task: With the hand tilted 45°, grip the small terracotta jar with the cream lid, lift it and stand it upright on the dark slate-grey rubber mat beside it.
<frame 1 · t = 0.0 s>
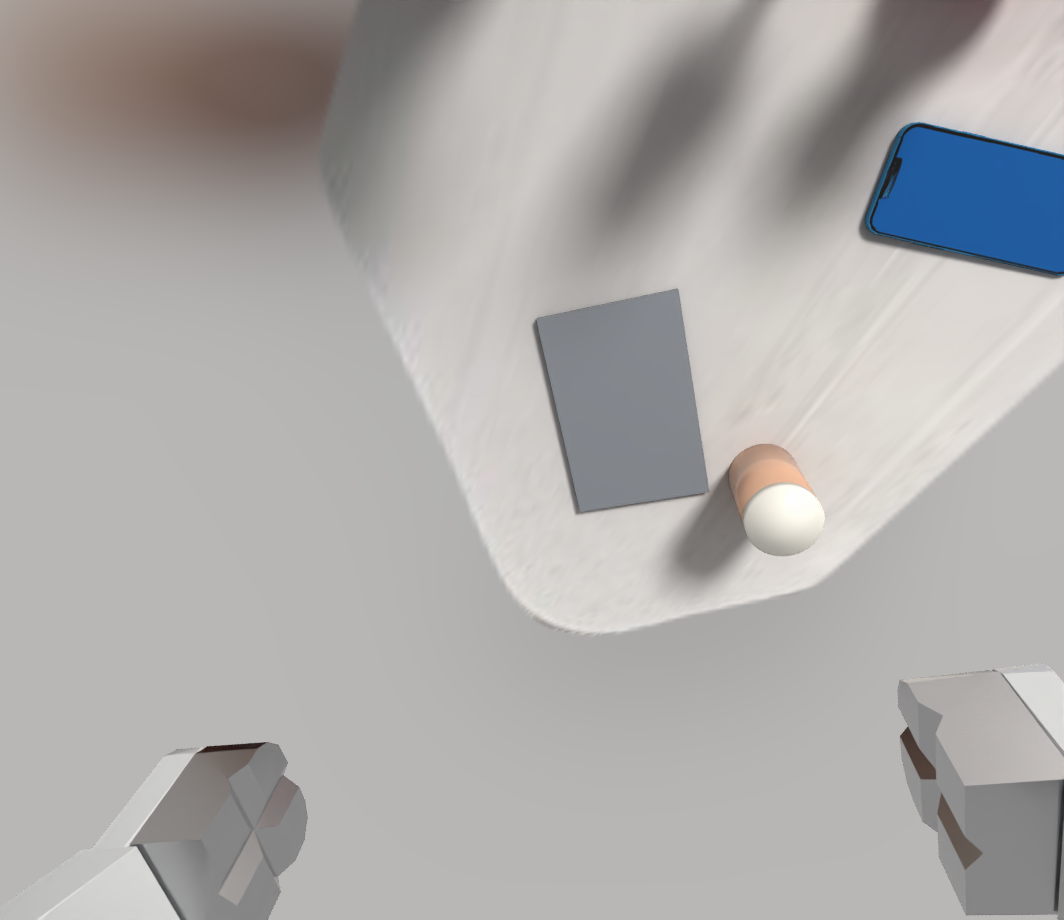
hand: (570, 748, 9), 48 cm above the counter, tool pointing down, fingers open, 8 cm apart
terracotta jar: (762, 474, 58), on the counter
slate mat: (625, 406, 57), on the counter
smartphone: (983, 200, 49), on the counter
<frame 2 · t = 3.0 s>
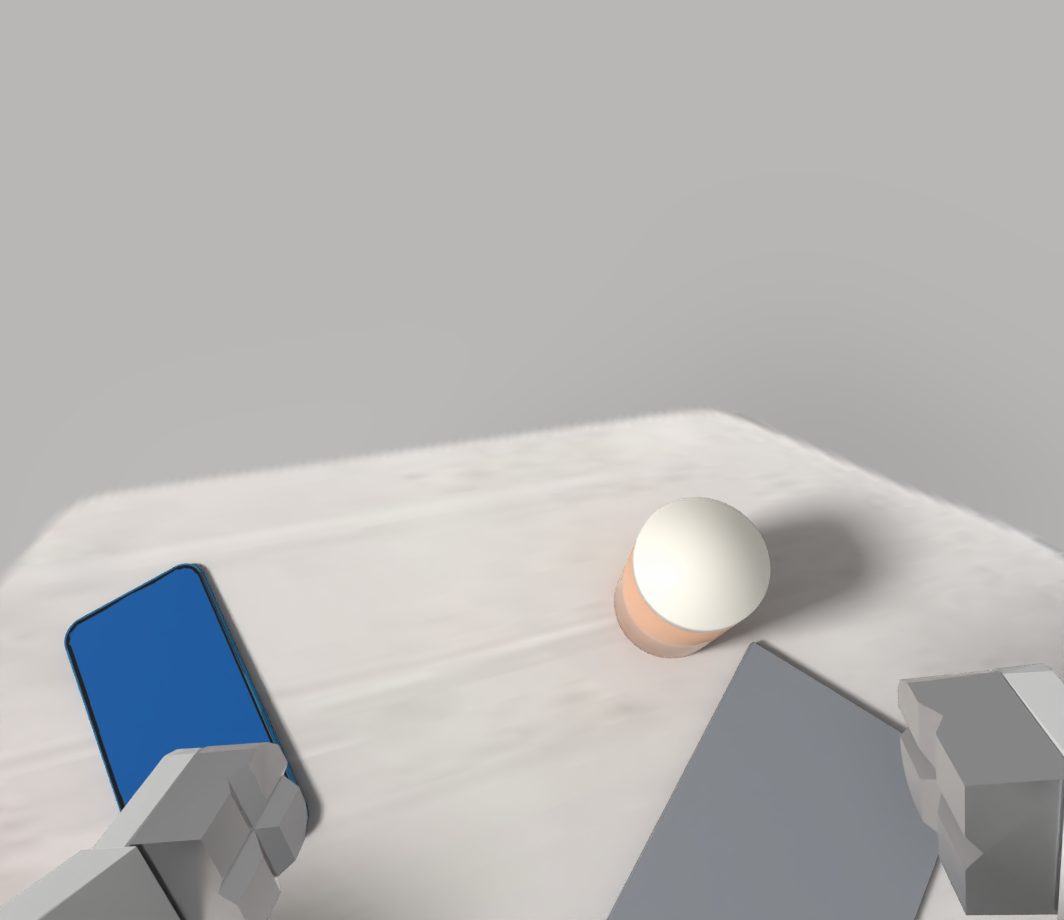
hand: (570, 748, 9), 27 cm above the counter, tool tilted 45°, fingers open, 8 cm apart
terracotta jar: (667, 603, 36), on the counter
slate mat: (776, 873, 32), on the counter
smartphone: (188, 723, 35), on the counter
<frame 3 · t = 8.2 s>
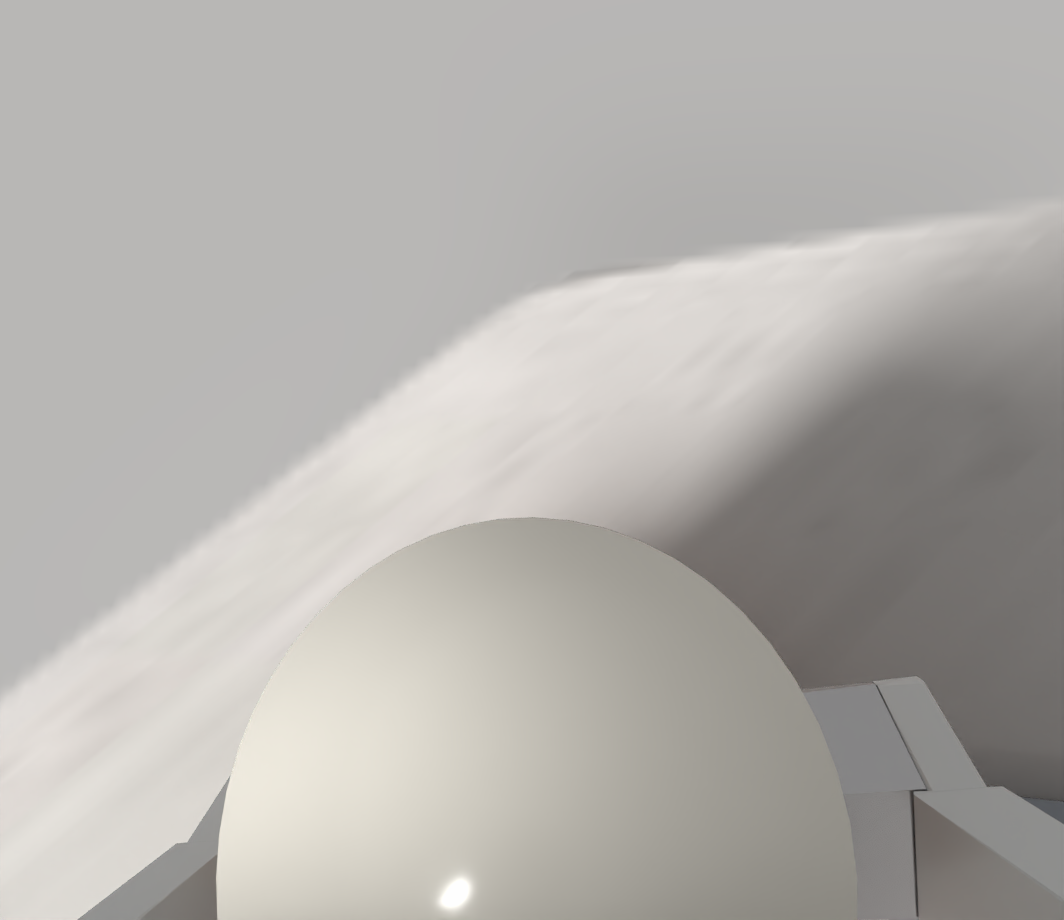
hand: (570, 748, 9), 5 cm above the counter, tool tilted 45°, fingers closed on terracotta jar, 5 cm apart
terracotta jar: (625, 783, 14), on the counter, touching gripper
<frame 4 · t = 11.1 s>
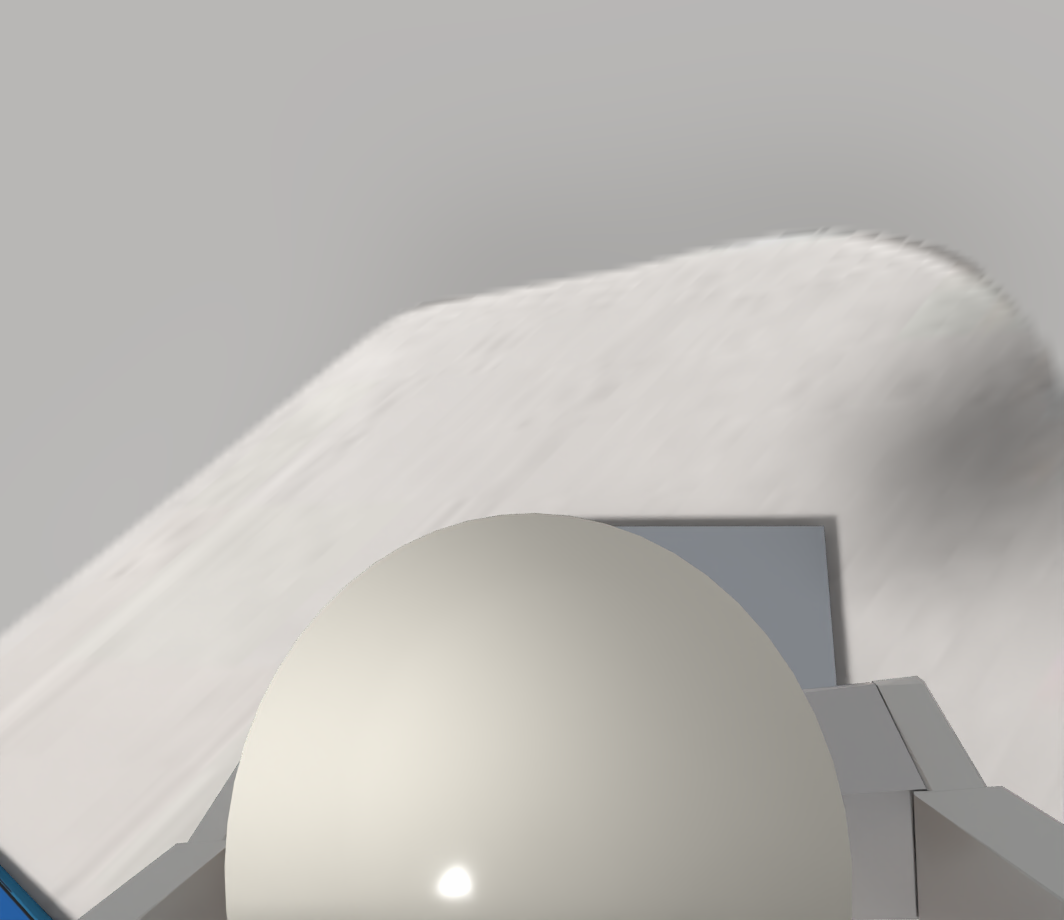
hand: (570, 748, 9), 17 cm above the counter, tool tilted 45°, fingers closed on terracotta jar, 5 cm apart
terracotta jar: (625, 777, 14), point 12 cm above the counter, touching gripper
slate mat: (669, 770, 24), on the counter
when the fingers open (7 cm above the counter, at t = 14.2 s): terracotta jar stays where it is, resting on slate mat.
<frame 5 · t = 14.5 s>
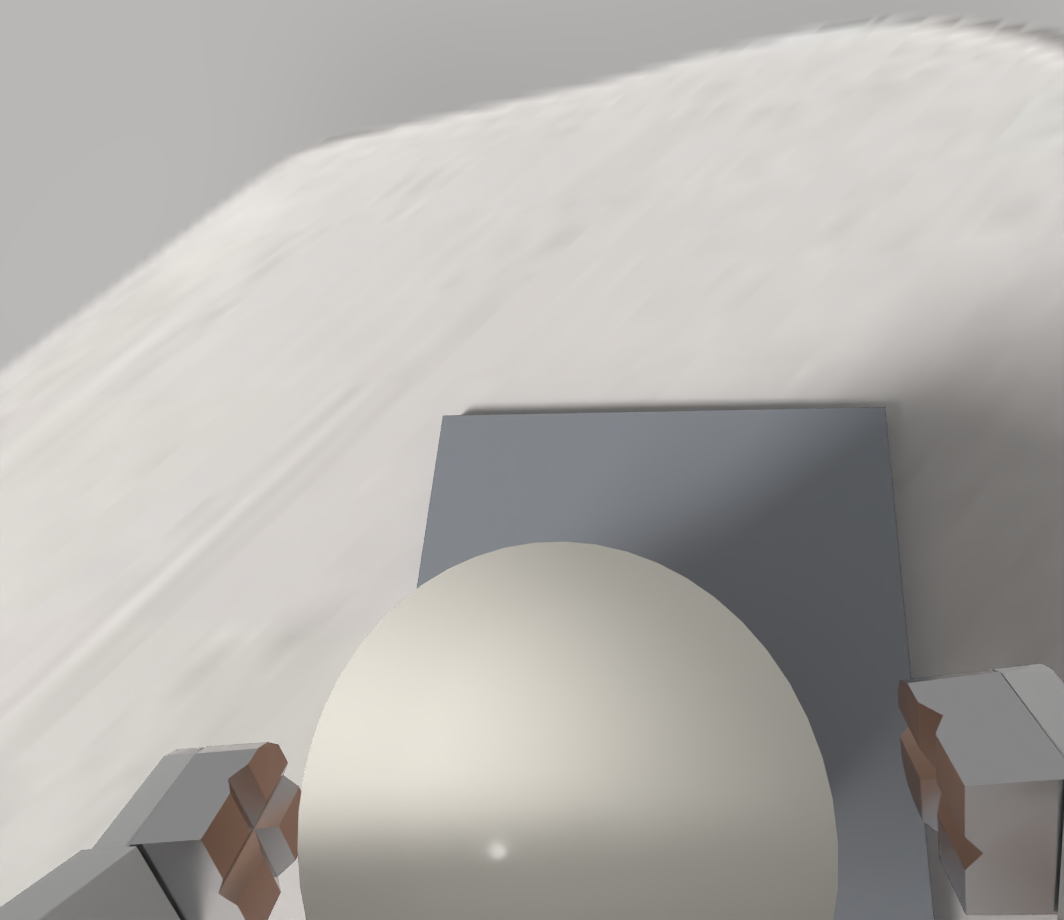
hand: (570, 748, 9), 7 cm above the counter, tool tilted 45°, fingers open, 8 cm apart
terracotta jar: (634, 776, 15), point 1 cm above the counter, touching slate mat
slate mat: (635, 777, 15), on the counter
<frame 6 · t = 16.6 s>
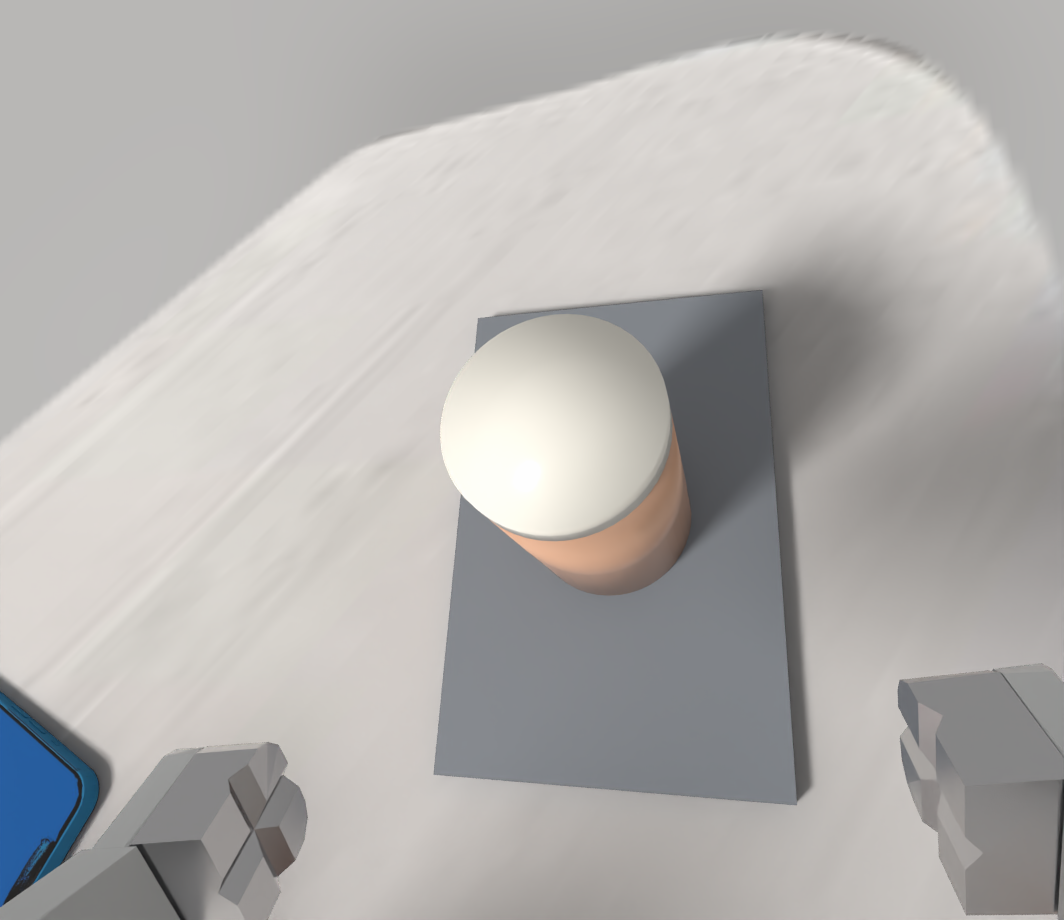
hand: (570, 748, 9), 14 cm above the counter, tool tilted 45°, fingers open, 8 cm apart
terracotta jar: (609, 515, 24), point 1 cm above the counter, touching slate mat
slate mat: (611, 521, 25), on the counter
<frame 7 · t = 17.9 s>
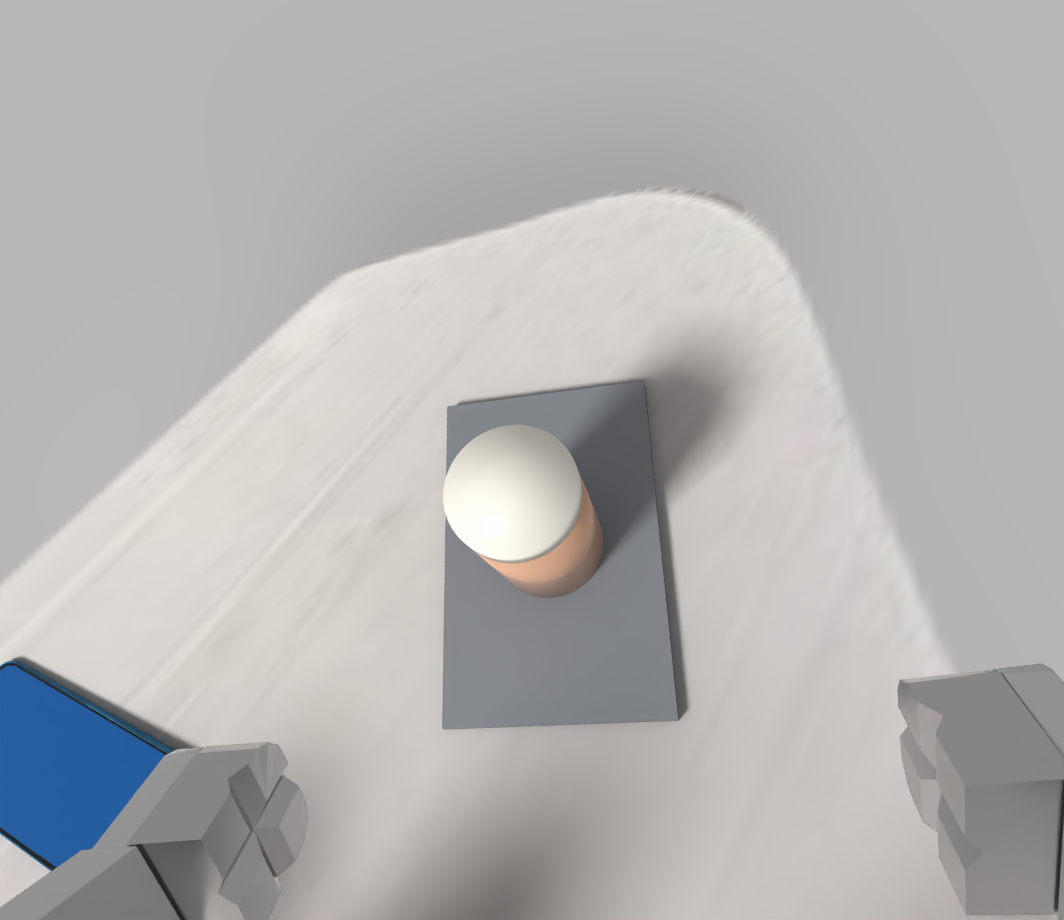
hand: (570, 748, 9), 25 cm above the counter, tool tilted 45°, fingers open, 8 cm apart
terracotta jar: (549, 543, 35), point 1 cm above the counter, touching slate mat
slate mat: (551, 547, 36), on the counter
smartphone: (71, 773, 38), on the counter
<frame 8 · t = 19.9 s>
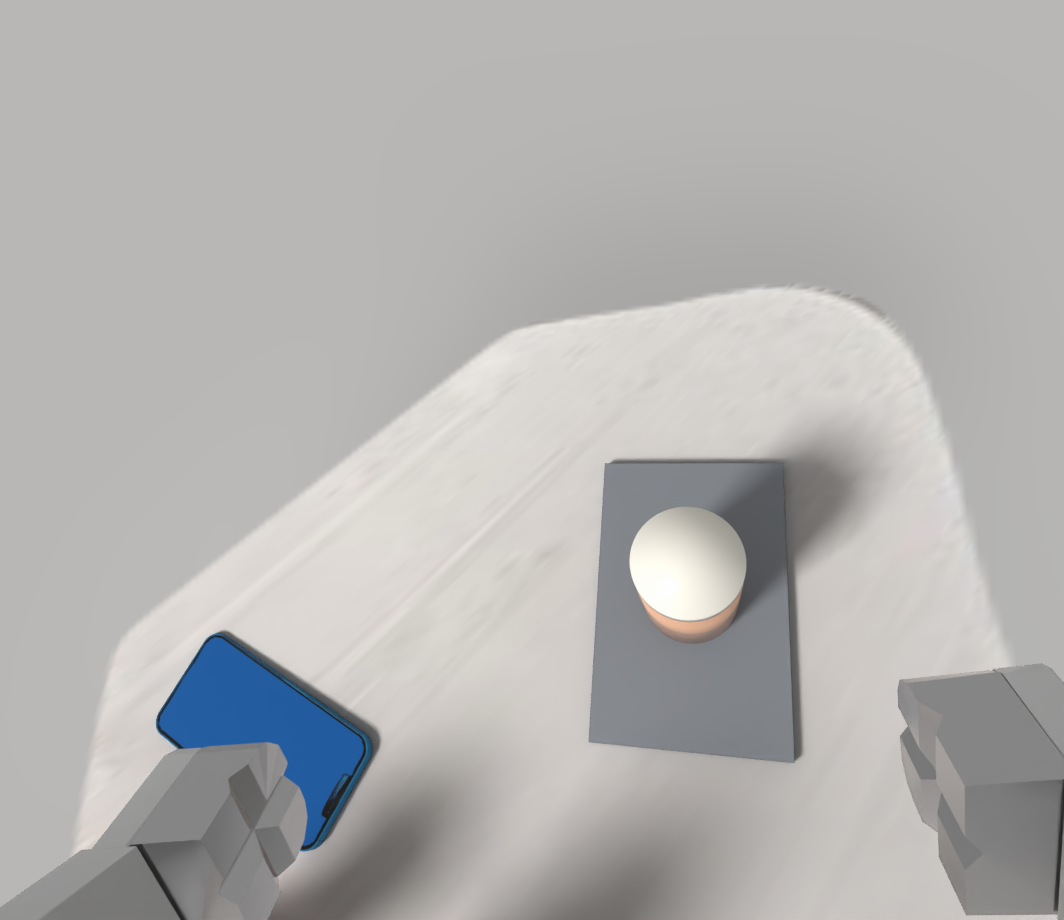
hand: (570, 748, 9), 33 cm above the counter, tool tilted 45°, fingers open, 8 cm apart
terracotta jar: (690, 596, 41), point 1 cm above the counter, touching slate mat
slate mat: (689, 599, 42), on the counter
smartphone: (266, 734, 46), on the counter
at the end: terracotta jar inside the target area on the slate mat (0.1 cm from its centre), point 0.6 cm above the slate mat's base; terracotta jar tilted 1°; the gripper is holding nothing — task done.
